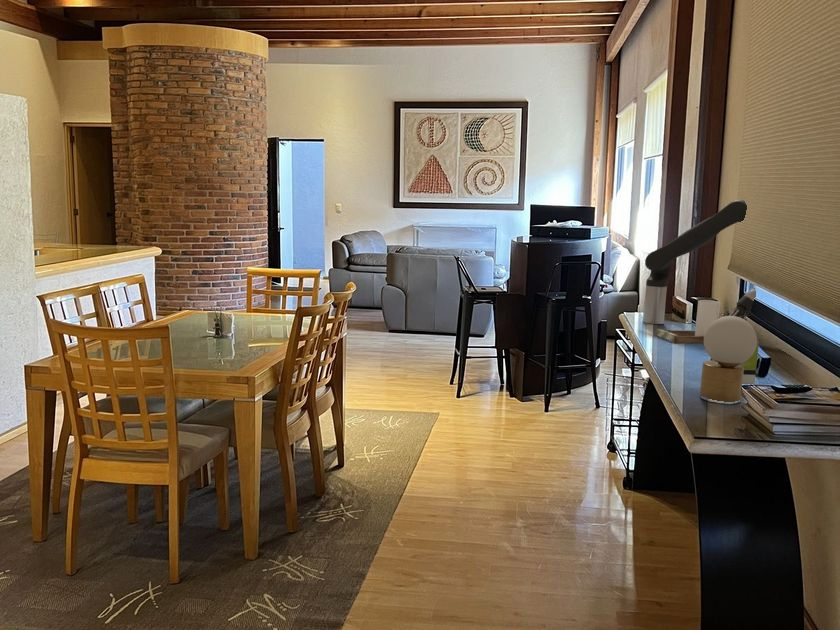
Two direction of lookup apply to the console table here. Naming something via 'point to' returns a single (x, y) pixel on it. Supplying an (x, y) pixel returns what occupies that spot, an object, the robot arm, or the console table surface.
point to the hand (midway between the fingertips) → (721, 330)
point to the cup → (705, 315)
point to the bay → (680, 336)
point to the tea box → (749, 368)
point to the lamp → (726, 357)
